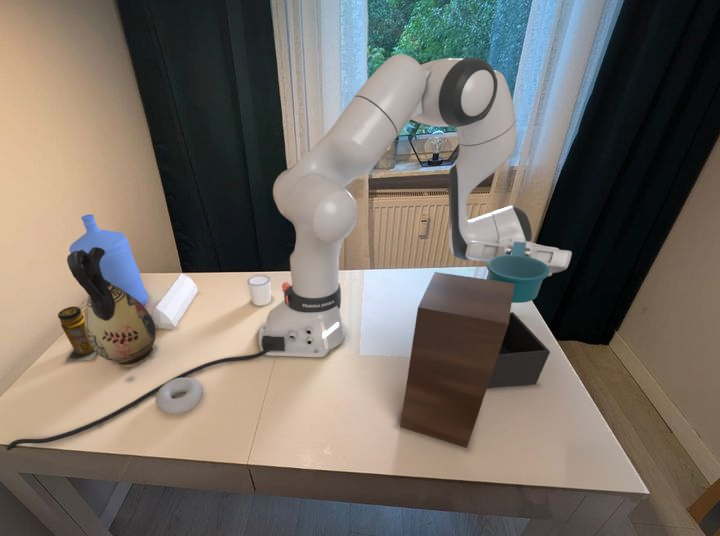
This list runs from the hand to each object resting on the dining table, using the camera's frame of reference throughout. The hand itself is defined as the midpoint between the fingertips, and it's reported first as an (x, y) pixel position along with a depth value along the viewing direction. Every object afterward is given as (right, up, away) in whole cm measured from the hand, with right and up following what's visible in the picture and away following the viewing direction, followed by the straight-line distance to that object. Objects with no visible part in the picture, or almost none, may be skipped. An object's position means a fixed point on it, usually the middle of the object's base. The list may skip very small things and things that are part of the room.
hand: (518, 251), depth 78 cm
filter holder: (-3, -6, -2) cm, 7 cm away
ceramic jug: (-88, -23, +19) cm, 93 cm away
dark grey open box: (-4, -24, +6) cm, 25 cm away
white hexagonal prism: (-82, -9, +36) cm, 90 cm away
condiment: (-102, -21, +23) cm, 107 cm away
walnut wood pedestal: (-18, -33, -4) cm, 38 cm away
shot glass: (-56, -6, +36) cm, 67 cm away
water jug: (-100, -6, +41) cm, 108 cm away
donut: (-71, -32, +5) cm, 78 cm away
